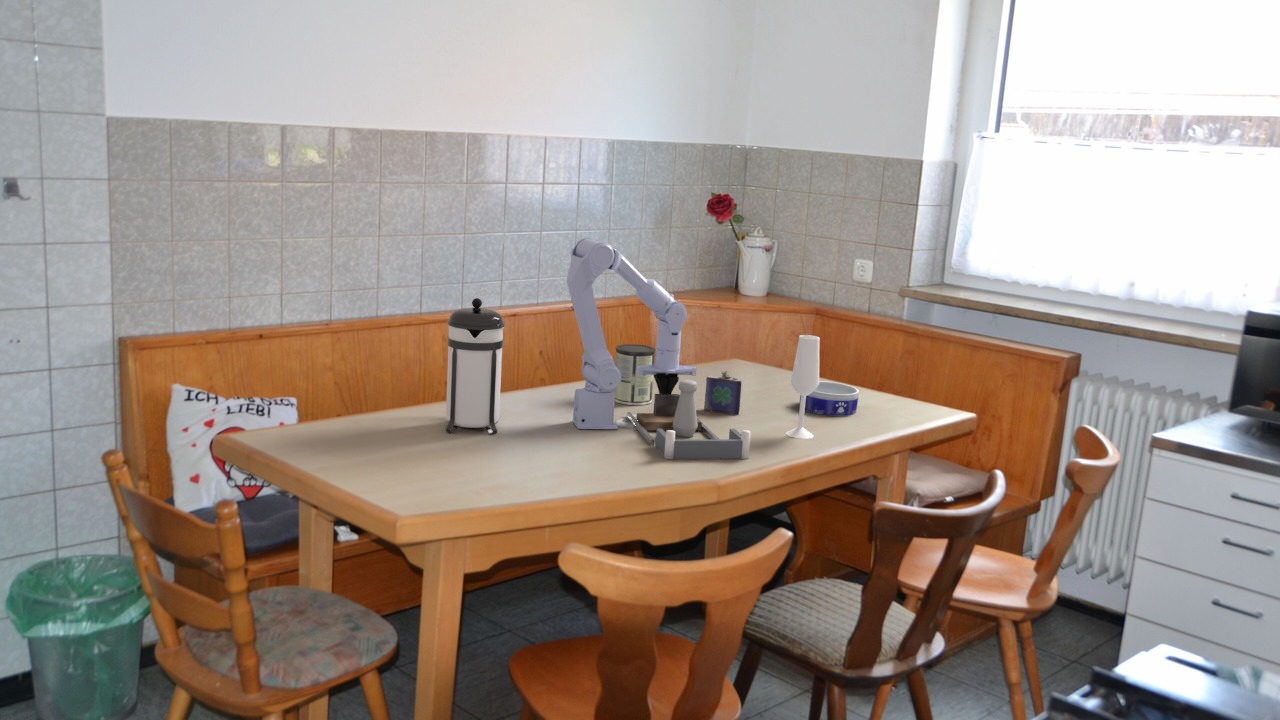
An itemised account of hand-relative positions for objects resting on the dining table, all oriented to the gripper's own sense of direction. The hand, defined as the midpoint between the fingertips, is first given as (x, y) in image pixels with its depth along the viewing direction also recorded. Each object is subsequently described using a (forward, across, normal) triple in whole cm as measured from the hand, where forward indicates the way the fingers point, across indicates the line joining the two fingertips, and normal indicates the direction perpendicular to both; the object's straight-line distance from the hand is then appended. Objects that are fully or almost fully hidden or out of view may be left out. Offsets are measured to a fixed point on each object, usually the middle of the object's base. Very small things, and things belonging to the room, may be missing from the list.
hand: (664, 403), depth 267 cm
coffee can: (+5, -3, +20) cm, 21 cm away
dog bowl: (+5, +49, +13) cm, 51 cm away
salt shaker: (+5, +2, -12) cm, 13 cm away
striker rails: (+4, 0, -8) cm, 9 cm away
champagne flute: (+5, +31, -12) cm, 34 cm away
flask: (+5, +18, +9) cm, 21 cm away
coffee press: (+5, -47, -5) cm, 47 cm away
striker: (+4, 0, -5) cm, 7 cm away
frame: (+4, +2, -26) cm, 26 cm away
